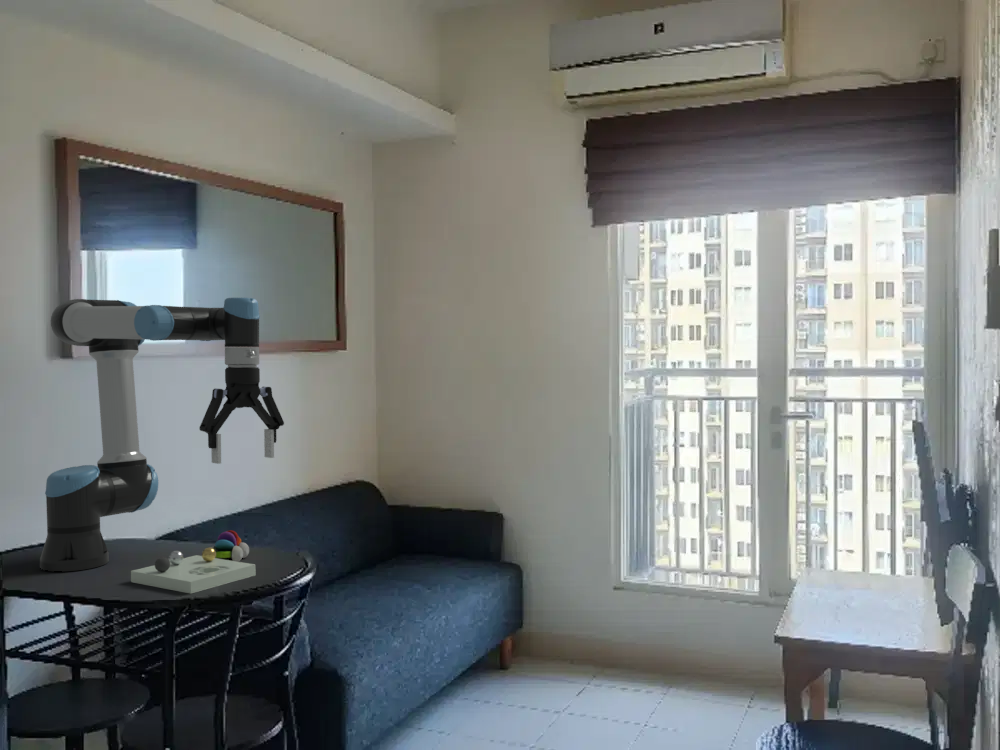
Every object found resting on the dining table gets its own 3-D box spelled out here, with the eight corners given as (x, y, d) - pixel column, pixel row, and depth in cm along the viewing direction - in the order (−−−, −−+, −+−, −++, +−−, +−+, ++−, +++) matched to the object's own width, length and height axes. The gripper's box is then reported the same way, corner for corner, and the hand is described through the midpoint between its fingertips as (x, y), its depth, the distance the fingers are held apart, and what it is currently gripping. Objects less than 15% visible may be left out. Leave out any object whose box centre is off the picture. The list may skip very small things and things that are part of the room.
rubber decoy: (151, 572, 202) (151, 558, 201) (164, 569, 204) (163, 555, 204) (161, 574, 200) (160, 559, 200) (173, 571, 203) (173, 556, 202)
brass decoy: (198, 561, 211) (198, 548, 211) (209, 559, 214) (209, 545, 214) (208, 563, 210) (207, 549, 209) (219, 560, 212) (219, 547, 212)
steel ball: (165, 565, 208) (165, 551, 208) (177, 562, 211) (177, 548, 211) (175, 566, 207) (174, 552, 206) (186, 564, 209) (186, 550, 209)
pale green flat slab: (131, 582, 203) (130, 570, 203) (196, 565, 219) (196, 555, 218) (191, 593, 193) (190, 581, 193) (255, 575, 208) (255, 564, 208)
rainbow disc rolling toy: (252, 556, 229) (251, 527, 228) (237, 565, 219) (236, 535, 219) (219, 555, 229) (219, 527, 229) (203, 564, 220) (202, 534, 220)
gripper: (200, 367, 194) (201, 467, 195) (298, 365, 213) (299, 456, 213) (182, 367, 199) (183, 464, 200) (279, 365, 218) (280, 453, 218)
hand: (243, 460), depth 207 cm, fingers open, 13 cm apart
